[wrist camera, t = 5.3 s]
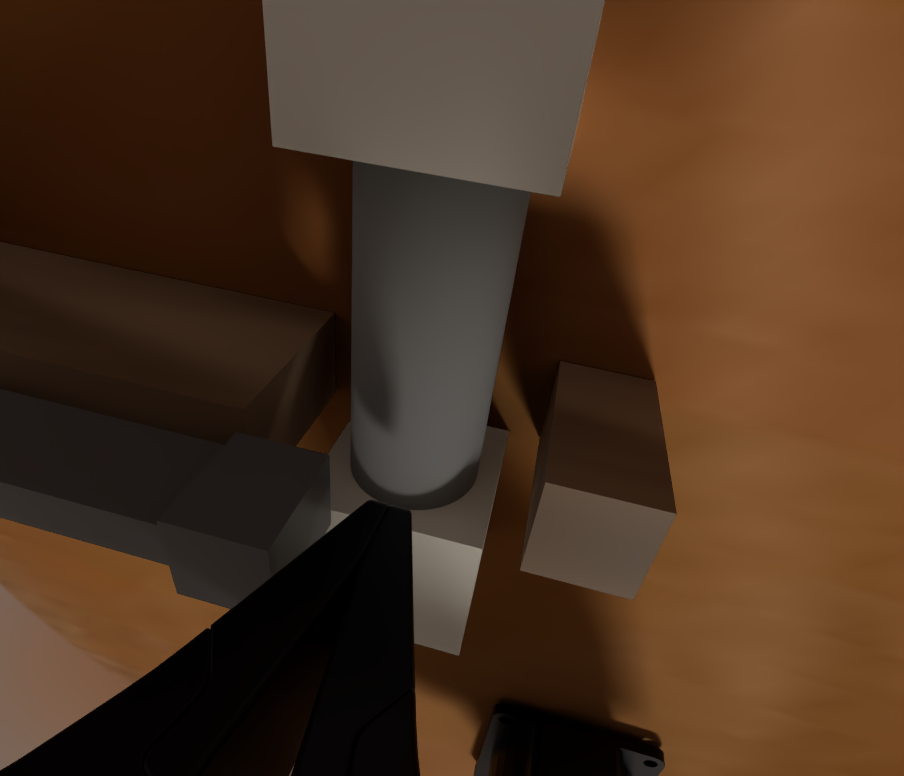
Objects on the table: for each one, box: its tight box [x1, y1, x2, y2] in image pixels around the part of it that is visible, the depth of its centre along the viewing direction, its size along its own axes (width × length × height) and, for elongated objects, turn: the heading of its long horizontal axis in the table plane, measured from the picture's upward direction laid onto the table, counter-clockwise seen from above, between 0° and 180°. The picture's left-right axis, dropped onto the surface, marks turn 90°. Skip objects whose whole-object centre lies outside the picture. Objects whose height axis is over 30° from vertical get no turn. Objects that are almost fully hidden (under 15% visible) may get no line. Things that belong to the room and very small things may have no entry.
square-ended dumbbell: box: [262, 0, 605, 656], centre depth 11 cm, size 15×4×4 cm, turn 174°
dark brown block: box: [0, 242, 677, 600], centre depth 13 cm, size 2×22×4 cm, turn 84°
